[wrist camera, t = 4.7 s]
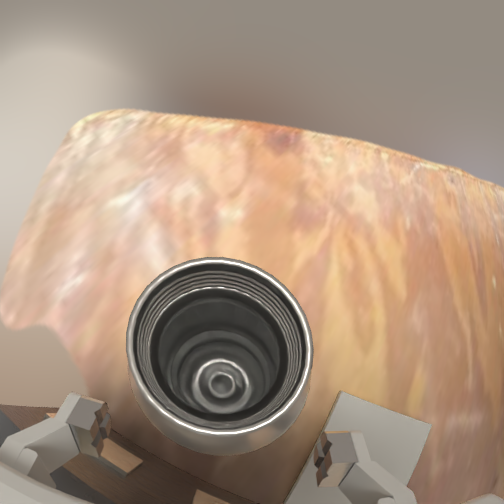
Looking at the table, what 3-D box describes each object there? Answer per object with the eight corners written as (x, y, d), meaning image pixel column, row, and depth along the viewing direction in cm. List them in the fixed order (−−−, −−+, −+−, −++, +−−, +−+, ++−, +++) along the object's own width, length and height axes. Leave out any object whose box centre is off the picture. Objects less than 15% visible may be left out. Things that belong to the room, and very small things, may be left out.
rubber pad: (339, 391, 24) (341, 391, 24) (428, 424, 23) (432, 424, 22) (281, 505, 20) (283, 508, 19) (379, 529, 18) (382, 530, 18)
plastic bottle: (232, 440, 22) (265, 559, 4) (163, 388, 23) (9, 350, 5) (280, 377, 24) (428, 310, 6) (212, 328, 26) (194, 153, 8)
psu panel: (83, 405, 22) (-3, 399, 11) (280, 507, 19) (323, 574, 9) (72, 426, 21) (-16, 431, 10) (267, 528, 18) (300, 602, 8)
